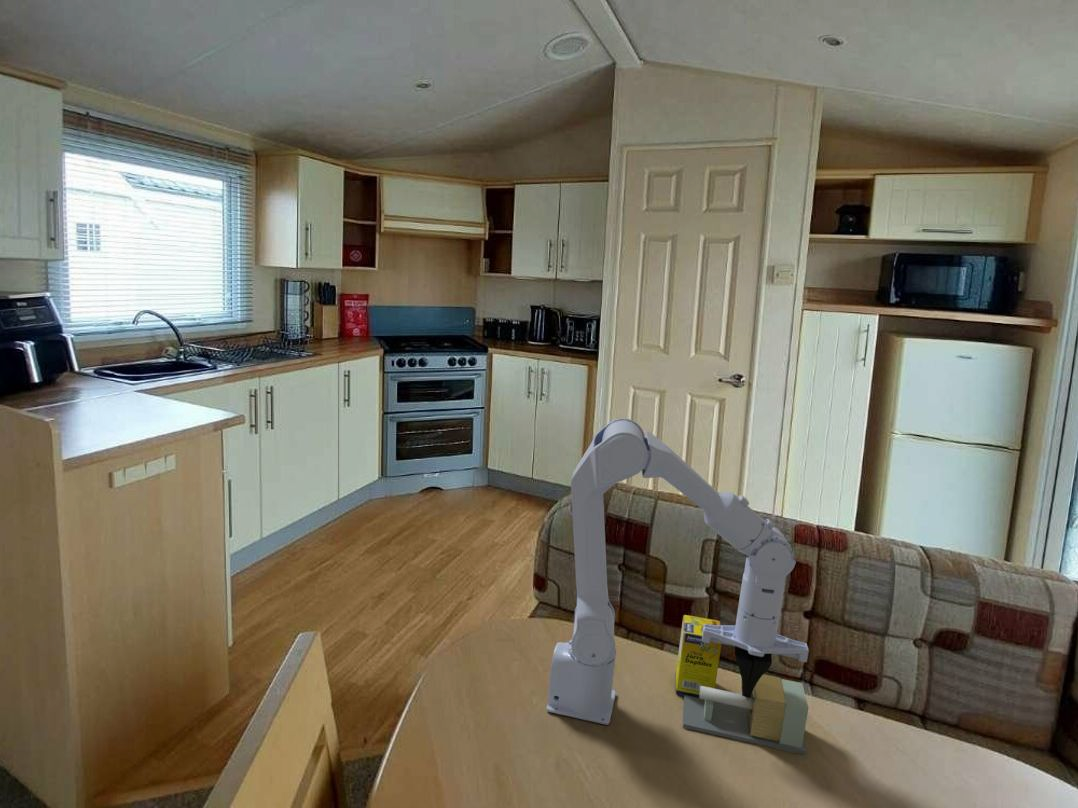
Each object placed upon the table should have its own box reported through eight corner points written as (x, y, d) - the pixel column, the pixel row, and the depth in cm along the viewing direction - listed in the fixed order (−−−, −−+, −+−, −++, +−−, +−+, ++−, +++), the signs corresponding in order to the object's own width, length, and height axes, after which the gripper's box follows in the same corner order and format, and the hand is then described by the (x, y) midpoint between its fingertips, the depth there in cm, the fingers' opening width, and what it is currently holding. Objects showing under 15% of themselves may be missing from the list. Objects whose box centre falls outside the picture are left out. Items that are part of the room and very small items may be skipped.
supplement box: (713, 702, 102) (723, 639, 99) (675, 695, 103) (683, 632, 101) (711, 680, 107) (720, 620, 105) (675, 673, 108) (683, 613, 106)
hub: (750, 735, 93) (756, 697, 92) (747, 708, 99) (752, 672, 98) (779, 741, 93) (785, 703, 91) (774, 714, 98) (780, 677, 97)
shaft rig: (682, 727, 95) (688, 685, 94) (684, 698, 102) (689, 658, 101) (805, 754, 92) (812, 711, 90) (798, 722, 98) (805, 681, 97)
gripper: (707, 613, 91) (695, 698, 94) (817, 633, 88) (801, 721, 90) (707, 590, 97) (696, 670, 100) (809, 608, 94) (794, 691, 97)
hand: (746, 693), depth 96 cm, fingers closed
